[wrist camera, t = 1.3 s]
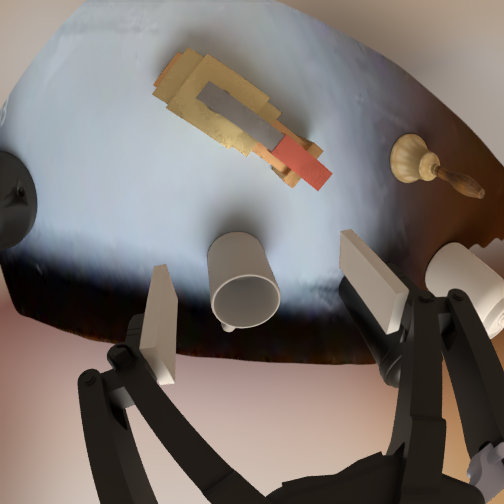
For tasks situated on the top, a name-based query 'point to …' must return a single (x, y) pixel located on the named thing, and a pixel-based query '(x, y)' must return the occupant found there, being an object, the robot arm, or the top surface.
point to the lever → (265, 135)
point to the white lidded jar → (468, 283)
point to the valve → (213, 124)
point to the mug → (241, 282)
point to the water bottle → (375, 335)
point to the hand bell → (426, 166)
